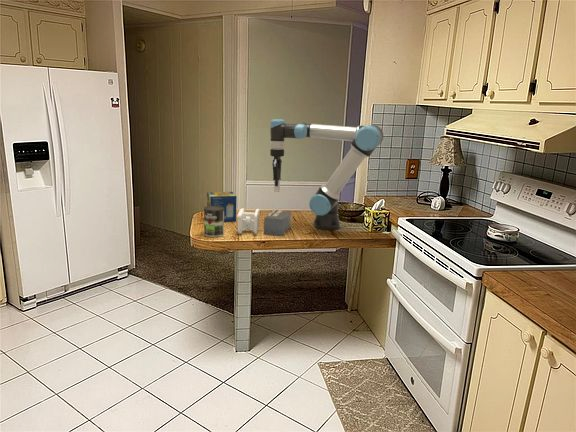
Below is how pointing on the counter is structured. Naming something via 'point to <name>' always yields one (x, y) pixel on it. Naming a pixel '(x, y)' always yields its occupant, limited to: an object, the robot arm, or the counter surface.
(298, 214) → the counter surface
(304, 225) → the counter surface
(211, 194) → the protein box
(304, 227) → the counter surface
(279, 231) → the grey box
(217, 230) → the coffee can
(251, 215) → the cable organizer
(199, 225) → the counter surface
